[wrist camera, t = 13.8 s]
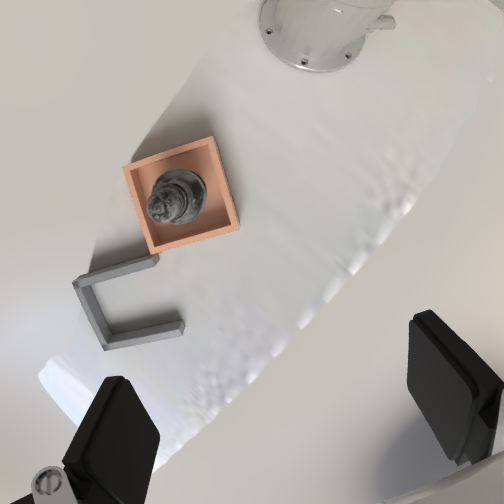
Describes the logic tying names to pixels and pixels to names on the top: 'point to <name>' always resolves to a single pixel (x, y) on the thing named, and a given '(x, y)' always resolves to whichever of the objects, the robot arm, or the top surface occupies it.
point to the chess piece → (177, 197)
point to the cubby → (97, 317)
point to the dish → (217, 202)
